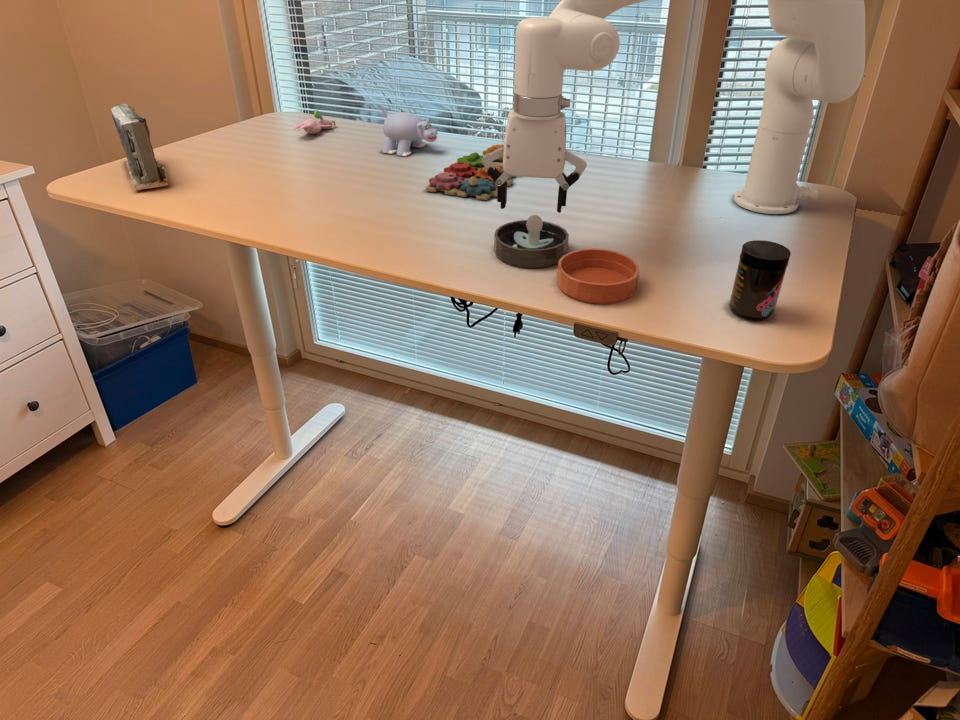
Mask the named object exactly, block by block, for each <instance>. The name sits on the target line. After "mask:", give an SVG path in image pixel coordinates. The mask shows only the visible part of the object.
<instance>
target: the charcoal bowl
mask: <svg viewBox="0 0 960 720" xmlns="http://www.w3.org/2000/svg"><path fill="white" fill-rule="evenodd" d="M527 220H528V219H522V220H515V221H509V222H507V223H504V224H501V225H500V226H499V227H497V228H496V229H495V231H494V234H493V235H494V236H493V241H494V242H493V252H494V254H495V255H496V257H498V259H499V260H501V262H503V263H505V264H507V265H510V266H512V267H517V268H523V269H543V268H544V269H545V268H549V267H552V266H556V265H558V261H559V260H560V259H561V258H562V256H564V255H566V254H568V249H569V238H570V237H569V236H570V235H569V232H568V231H567V230H566V229H565V228H564V227H563V226H560V225H559V224H555V223H552V222H550V221H545V220H542V222H543V226H542V229H541V231H540V237H539V240H543V239H550V238H553V239H554V241H553V242H552V243H551V244H549V245H547V246H545V247H543V248H544V249H535V250H534V249H523V247H519V248H517V247H512V246H513V245H515V244H517V243H516V242H515V240H514V233H515V232H518V231H519V232H524V233H526V234H528V230H527V227H526V223H527ZM522 238H523V239H526V238H525V237H522Z"/></svg>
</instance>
